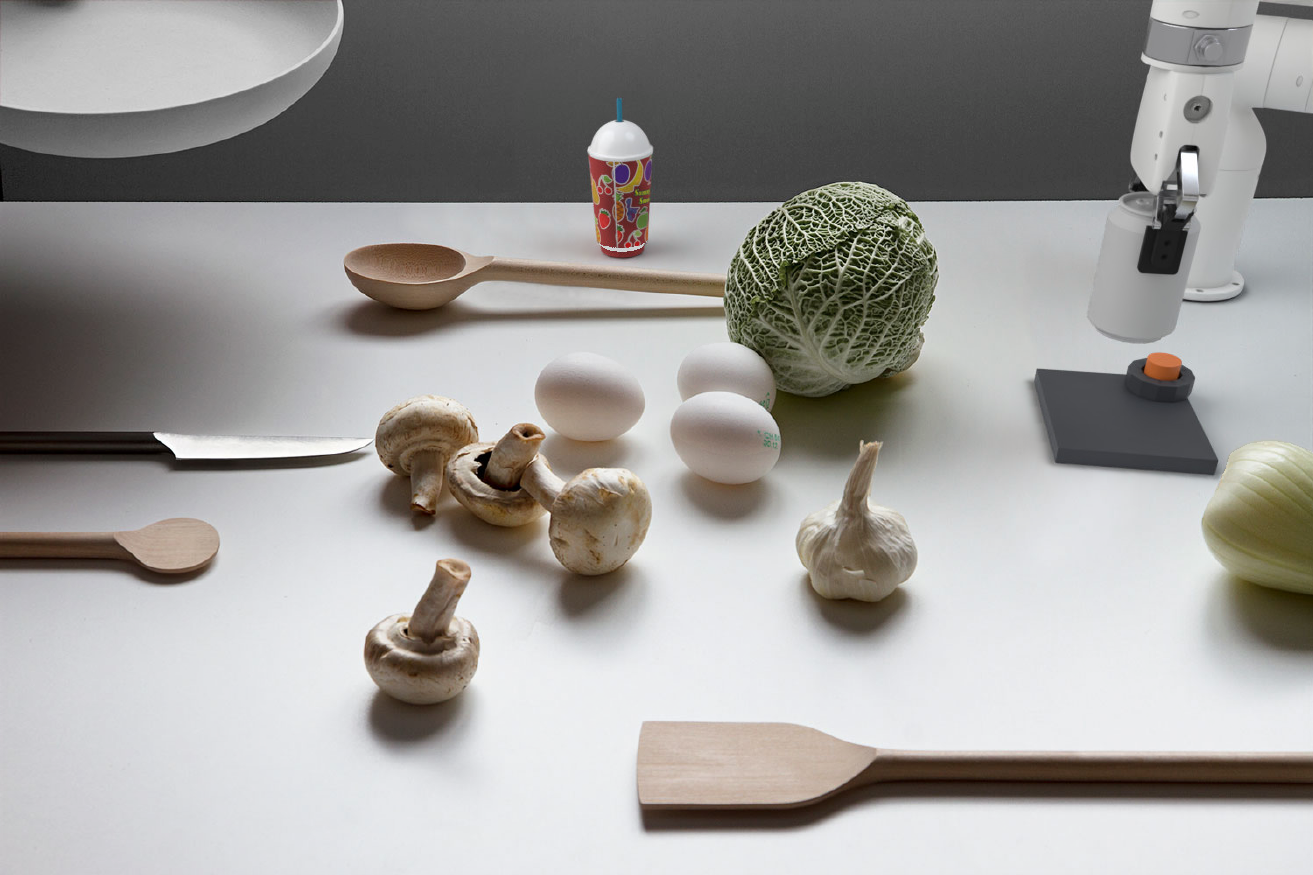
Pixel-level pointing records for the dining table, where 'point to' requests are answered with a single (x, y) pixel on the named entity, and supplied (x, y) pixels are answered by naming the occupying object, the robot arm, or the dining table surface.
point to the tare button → (1163, 366)
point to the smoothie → (621, 185)
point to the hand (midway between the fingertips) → (1146, 253)
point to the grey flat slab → (1124, 420)
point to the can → (1136, 277)
